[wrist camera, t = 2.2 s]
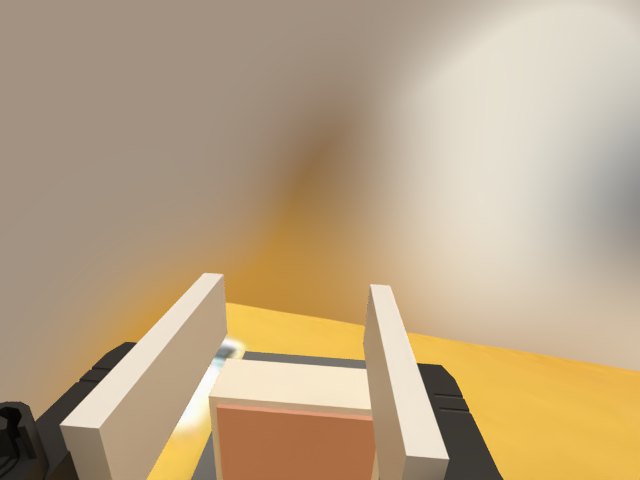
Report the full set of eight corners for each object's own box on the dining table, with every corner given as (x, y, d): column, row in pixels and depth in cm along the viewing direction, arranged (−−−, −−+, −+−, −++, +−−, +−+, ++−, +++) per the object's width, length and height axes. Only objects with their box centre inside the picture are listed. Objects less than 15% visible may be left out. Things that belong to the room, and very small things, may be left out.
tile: (359, 527, 25) (382, 370, 19) (362, 583, 22) (390, 414, 16) (237, 515, 25) (227, 358, 20) (224, 569, 22) (206, 399, 17)
